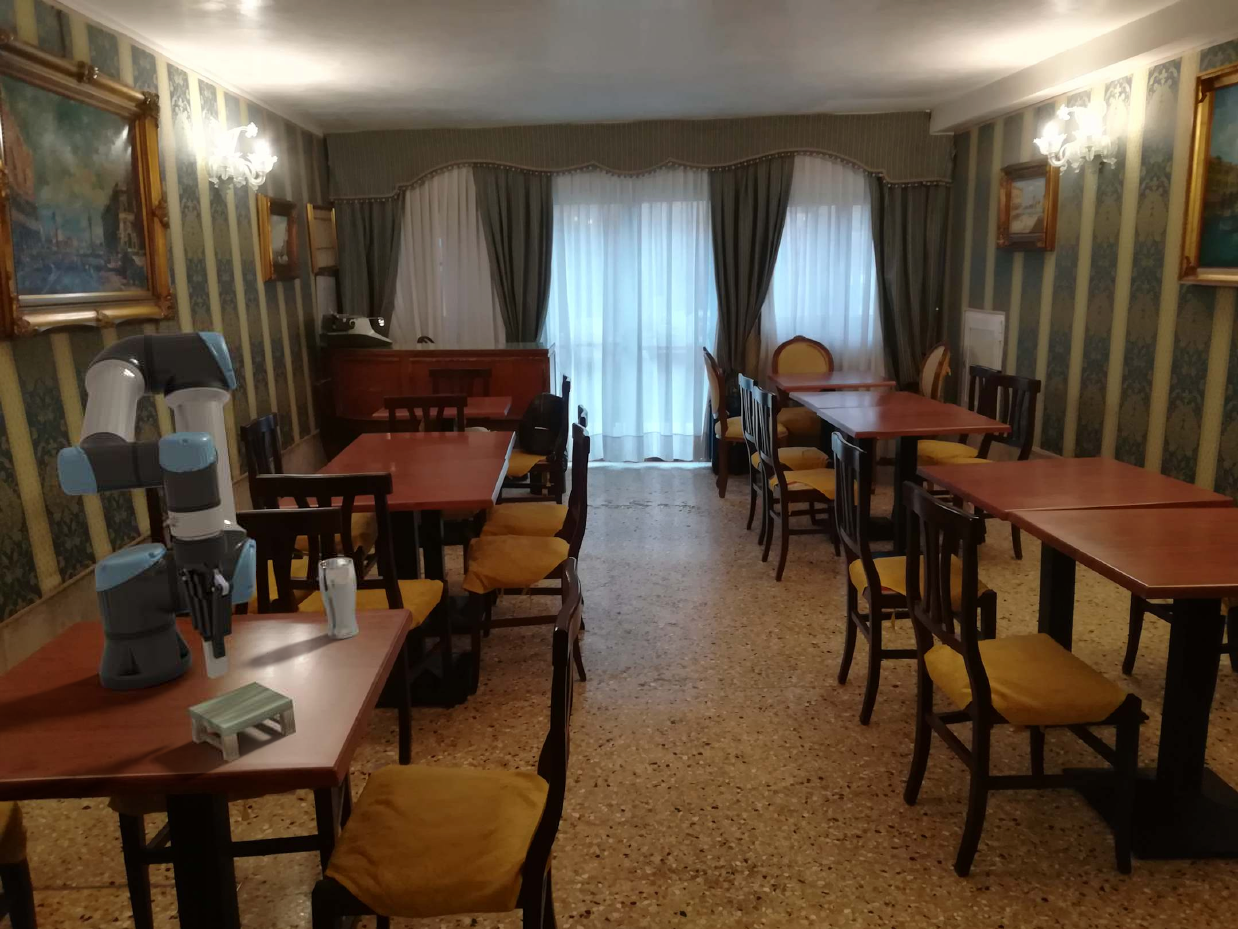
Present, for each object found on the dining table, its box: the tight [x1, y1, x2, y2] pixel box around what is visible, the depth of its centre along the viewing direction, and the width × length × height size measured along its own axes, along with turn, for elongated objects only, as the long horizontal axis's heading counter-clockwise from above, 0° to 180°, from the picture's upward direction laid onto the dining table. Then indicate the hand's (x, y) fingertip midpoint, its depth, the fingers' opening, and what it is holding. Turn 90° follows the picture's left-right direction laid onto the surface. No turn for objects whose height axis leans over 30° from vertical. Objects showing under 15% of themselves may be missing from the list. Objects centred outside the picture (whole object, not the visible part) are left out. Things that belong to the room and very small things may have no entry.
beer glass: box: [318, 557, 360, 640], centre depth 177 cm, size 7×7×15 cm
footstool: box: [188, 681, 297, 763], centre depth 138 cm, size 6×11×11 cm
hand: (218, 674), depth 142 cm, fingers closed
